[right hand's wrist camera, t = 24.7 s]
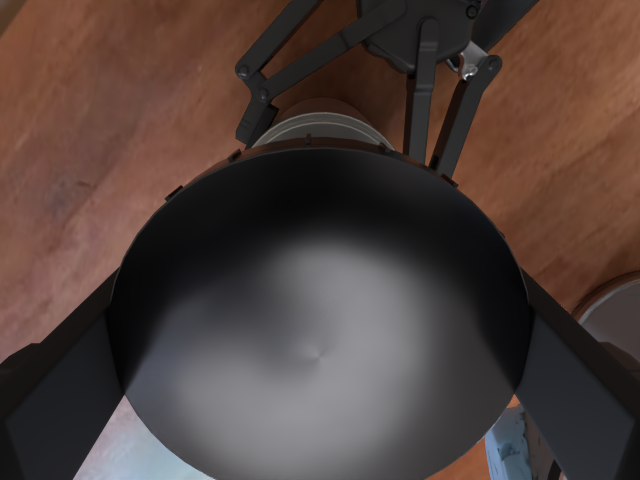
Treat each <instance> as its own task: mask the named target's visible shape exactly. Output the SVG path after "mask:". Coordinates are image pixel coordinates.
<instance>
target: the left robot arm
mask: <svg viewBox="0 0 640 480" xmlns="http://www.w3.org/2000/svg"><path fill="white" fill-rule="evenodd" d="M487 1H488V0H356V3H357V17H358V20H356V21H355V22H353V23H352V24H350V25H349V26H347V27H346V28H344V29H343V30H341V31H340V32H339V33H337V34H336V35H334V36H333V37H331V38H330V39H328V40H327V41H325V42H324V43H322V44H320V45H319V46H317V47H316V48H314V49H313V50H311V51H310V52H308V53H307V54H305V55H304V56H302V57H301V58H299V59H298V60H296V61H295V62H293V63H292V64H290V65H288V66H287V67H285V68H284V69H282V70H281V71H279V72H278V73H276V74H275V75H273V76H272V77H270V78H269V79H267V78H266V77H265V76H264V75H263V73H262V72H261V70H262V69H263V68H264V67H265V66H266V65H267V64H268V63H269V61H270V60H271V59H272V58H273V57H274V56H275V55H276V54H277V53H278V51H279V50H280V49H281V48H282V47H283V46H284V45H285V44H286V42H287V41H288V40H289V39H290V38H291V37H292V36H293V35H294V34H295V32H296V31H297V30H298V29H299V28H300V27H301V26H302V25H303V23H304V22H305V21H306V20H307V19H308V18H309V17H310V16H311V15H312V13H313V12H314V11H315V10H316V9H317V8H318V7H319V6H320V4H321V3H322V2H323V0H292V1H291V2H290V3H289V4H288V5H287V6H286V8H285V9H284V10H283V11H282V12H281V13H280V14H279V16H278V17H277V18H276V19H275V20H274V21H273V22H272V24H271V25H270V26H269V27H268V28H267V29H266V31H265V32H264V33H263V34H262V35H261V36H260V37H259V39H258V40H257V41H256V42H255V43H254V44H253V45H252V47H251V48H250V49H249V50H248V51H247V52H246V54H245V55H244V56H243V57H242V58H241V59H240V60H239V62H238V63H237V64H236V66H235V72H236V74H237V76H238V77H239V78H241V79H242V80H243V81H244V83H245V84H246V85H247V86H248V87H249V89H250V91H251V95H252V97H251V101H250V103H249V105H248V107H247V109H246V111H245V113H244V115H243V118H242V120H241V122H240V124H239V126H238V128H237V130H236V139H237V140H239V141H241V142H243V143H245V144H246V145H247V146H246V148H245V150H247V149H250V148H252V146H253V145H254V144H255V143H256V142H257V140H258V139H259V138H260V137H261V136H262V135H263V134H264V133H265V132H266V131H267V130H268V129H269V128H270V127H271V125H272V123H273V121H274V119H275V117H276V115H277V113H278V111H279V108H277V107H275V106H274V105H272V104H271V102H272V100H273V98H275V97H276V96H278V95H279V94H281V93H283V92H284V91H286V90H287V89H289V88H290V87H292V86H293V85H295V84H297V83H298V82H300V81H301V80H303V79H304V78H306V77H307V76H309V75H311V74H312V73H314V72H315V71H317V70H318V69H320V68H321V67H323V66H325V65H326V64H328V63H329V62H331V61H332V60H334V59H335V58H337V57H339V56H340V55H342V54H343V53H345V52H346V51H348V50H350V49H351V48H353V47H354V46H356V45H357V44H359V43H360V42H361V44H362V46H363V47H364V48H365V51H367V52H368V53H370V54H371V55H373V56H376V57H379V58H382V59H385V60H386V61H387V63H388V64H389V65H390V66H391V67H392V68H393V69H395V70H396V71H398V72H399V73H404V74H407V82H406V88H407V99H406V113H405V127H404V140H403V154H404V155H407V156H409V157H411V158H413V159H415V160H416V161H418V162H420V163H422V164H424V165H425V157H426V146H427V135H428V125H429V114H430V103H431V94H432V91H433V88H434V81H435V70H436V65H437V64H439V63H441V62H443V61H445V60H447V59H450V58H452V57H454V56H456V55H458V56H459V58H460V65H459V68H458V72H457V73H458V76H459V78H460V81H459V82H458V84H457V86H456V88H455V91H454V93H453V96H452V99H451V102H450V105H449V108H448V111H447V114H446V117H445V119H444V122H443V125H442V128H441V131H440V134H439V137H438V140H437V143H436V146H435V149H434V152H433V154H432V157H431V160H430V163H429V166H428V167H429V168H431V169H432V170H434V171H435V172H436V173H438V174H439V175H440V176H441V175H442V173H444V174H445V175H447V176H448V177H449V178H450V179H451V178H452V175H453V172H454V170H455V167H456V164H457V162H458V159H459V156H460V153H461V151H462V148H463V145H464V142H465V140H466V137H467V134H468V132H469V129H470V126H471V123H472V121H473V118H474V115H475V113H476V110H477V107H478V104H479V102H480V99H481V96H482V93H483V92H484V90H485V89H486V88H487V86H488V85H489V84H490V82H491V81H492V80H493V79H494V77H495V76H496V75H497V73H498V72H499V71H500V69H501V67H502V59H501V58H500V57H499V56H497V55H488V54H487V53H485V52H484V51H483V50H482V49H481V48H479V47H478V46H477V45H476V44H474V43H473V42H472V41H471V36H472V29H473V25H474V22H475V20H476V18H477V16H478V15H479V13H480V12H481V10H482V9H483V7H484V5H485V4H486V2H487ZM571 316H572V317H573V318H574V319H575V320H576V321H577V322H578V323H579V324H580V325H581V326H582V327H583V328H584V329H585V330H586V331H587V332H589V333H590V334H591V335H592V336H593V337H594V338H595V339H596V340H597V341H598V342H610V343H611V344H613V345H615V346H617V347H618V348H620V349H622V350H624V351H625V352H627V353H629V354H631V355H632V356H633V357H634V358H635V359H636V360H637V361H639V362H640V271H638V272H634V273H630V274H626V275H624V276H621V277H618V278H616V279H614V280H612V281H610V282H608V283H606V284H604V285H603V286H601V287H599V288H598V289H596V290H595V291H594V292H592V293H591V294H590V295H589V296H588V297H586V298H585V299H584V300H583V301H582V302H581V303H580V304H579V306H578V307H577V308H576V309H575V311H574V312H573V313H572V315H571ZM485 444H486V453H487V459H488V465H489V471H490V477H491V480H567V479H566V477H565V475H564V474H563V472H562V470H561V469H560V467H559V465H558V464H557V462H556V460H555V459H554V457H553V456H552V454H551V452H550V451H549V449H548V447H547V446H546V444H545V442H544V441H543V439H542V437H541V436H540V434H539V433H538V431H537V429H536V428H535V426H534V424H533V423H532V421H531V419H530V418H529V416H528V415H527V413H526V411H525V410H524V408H523V406H522V405H521V404H518V406H517V407H512V408H506V409H505V411H504V412H503V414H502V415H501V416H500V418H499V419H498V421H497V422H496V424H495V425H494V426H493V427H492V428H491V429H490V430H489V431H488V433H487V434H486V435H485Z"/></svg>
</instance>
